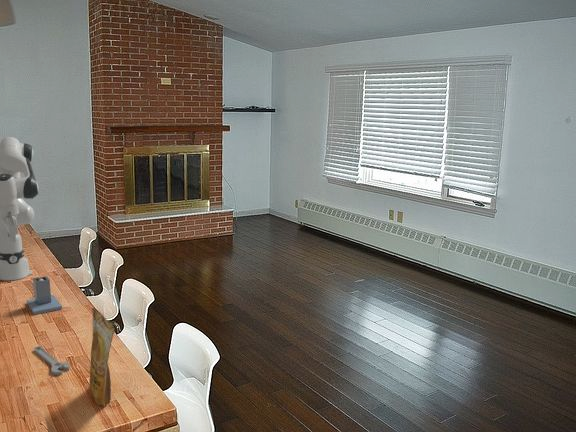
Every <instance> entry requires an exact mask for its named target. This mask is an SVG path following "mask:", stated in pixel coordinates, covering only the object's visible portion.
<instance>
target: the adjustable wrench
mask: <svg viewBox="0 0 576 432" xmlns="http://www.w3.org/2000/svg"><path fill="white" fill-rule="evenodd" d="M33 348H34V350H33V351H34V352H35V353H36V354H37V355H38V356H39V357H41V358H42V360H44V361H45V362H46V363H47V364H49V365H50V366H51V368H50V371H51V372H50V373H51V374H52V375H55V376H62V375H63V371H62V370H64V371H68V372H69V371H70V365H69V363H68V361H66V362H65V361H64V362H62V361H58V360H56V359H55V358H54V356H52V355H51V354H50V353H49V352H48V351H46V350H45V349H44V348H43V347H42V346H36V347H33Z"/></svg>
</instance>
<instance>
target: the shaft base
mask: <svg viewBox="0 0 576 432" xmlns="http://www.w3.org/2000/svg"><path fill="white" fill-rule="evenodd" d="M42 280H43V279H40V280H39V281H42ZM26 303H27V305H28V307H29V309H30V311H31V312H32V314H33V316H35V315H39V314H44V313H49V312H55V311H60V310H63V305H62V304H61V302H60V301H59V300H58V299H57V297H56V295H54V294H53V295H52V294H51V303H46V304H40V305H37V303H36V302H35V298H30V299H26Z"/></svg>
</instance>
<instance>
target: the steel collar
mask: <svg viewBox="0 0 576 432" xmlns="http://www.w3.org/2000/svg"><path fill="white" fill-rule="evenodd" d="M40 279H43V280H42V281H39V280H40ZM32 284H33V285H32V286H33V287H32V288H33V296H34V299H35V302H36V303H37V305H40V304H46V303H51V295H52V294H51V293H52V292H51V282H50V279H49V277H48V276H39V277H34V278H32Z"/></svg>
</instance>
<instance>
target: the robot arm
mask: <svg viewBox="0 0 576 432" xmlns="http://www.w3.org/2000/svg"><path fill="white" fill-rule="evenodd" d="M34 152H35V151H34V149H33V146H32V145H31V144H29V143H26V142H24V143H21V142H20V141H19V139H17V138H16V137H13V136H6V137H5V136H4V137H3V138H2V139H1V141H0V281H17V280H21V279H24V278H27V277H28V276H30V275H33V270H31V269H29V267H30V266H29V260H28V259H27V258H26V257H25V252H24V251H25V250H24V249H23V243H22V242H23V241H22V240H23V239H22V236H21V235H20V234H19V228H18V226H23V225H28V224H31V223H32V222H33V221H34V218H35V210H34V209H33V207H32V206H31V205H29V204H28V203H27V202H26V201H25V200H26V199H31V200H33V199H34V198H35V197H36V196H38V195H39V191H40V190H39V189H40V187H39V183H38V181H37V180H36V176H35V173H34V170H33V166H32V163H31V162H32V160H33V158H34V154H35V153H34ZM21 173H22V174H23V175H24V177H22V176H21V175H22V174H21ZM24 199H25V200H24Z"/></svg>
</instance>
